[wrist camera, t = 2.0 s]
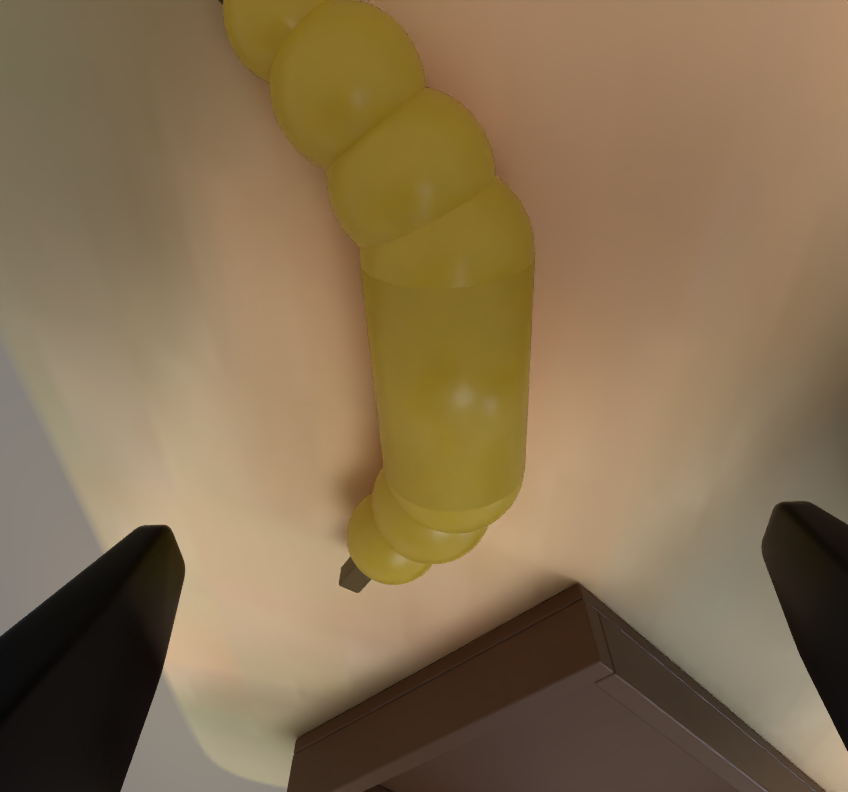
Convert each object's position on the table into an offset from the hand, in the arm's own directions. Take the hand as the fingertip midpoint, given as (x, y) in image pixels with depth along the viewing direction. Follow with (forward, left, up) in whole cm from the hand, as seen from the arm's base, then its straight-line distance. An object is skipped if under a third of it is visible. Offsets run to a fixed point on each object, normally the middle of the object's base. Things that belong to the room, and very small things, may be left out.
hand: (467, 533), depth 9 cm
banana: (+1, +1, -7) cm, 7 cm away
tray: (-21, +6, -7) cm, 23 cm away
